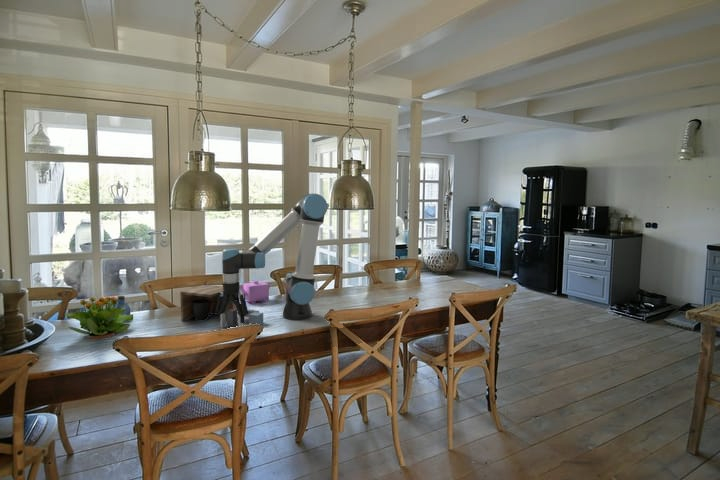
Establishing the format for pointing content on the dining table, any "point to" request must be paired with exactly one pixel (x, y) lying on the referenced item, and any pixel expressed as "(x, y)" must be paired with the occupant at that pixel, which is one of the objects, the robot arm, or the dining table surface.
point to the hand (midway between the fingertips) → (232, 328)
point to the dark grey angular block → (233, 317)
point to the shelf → (200, 293)
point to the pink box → (256, 291)
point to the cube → (256, 318)
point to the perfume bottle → (122, 305)
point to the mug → (202, 309)
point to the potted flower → (101, 318)
